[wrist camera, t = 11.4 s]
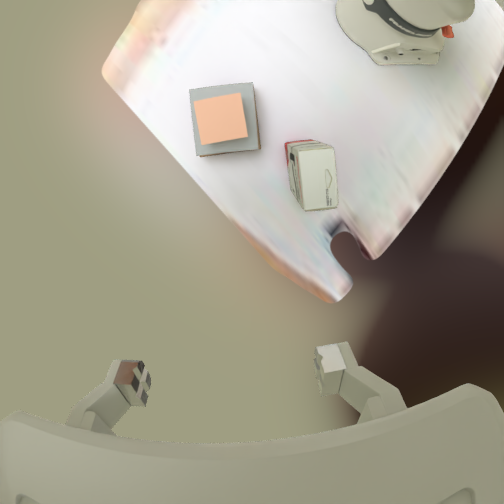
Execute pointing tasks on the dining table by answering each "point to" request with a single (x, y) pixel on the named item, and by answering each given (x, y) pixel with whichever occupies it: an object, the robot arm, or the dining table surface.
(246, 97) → the slate block
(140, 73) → the dining table surface
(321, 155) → the ink box
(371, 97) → the dining table surface
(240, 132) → the terracotta block
